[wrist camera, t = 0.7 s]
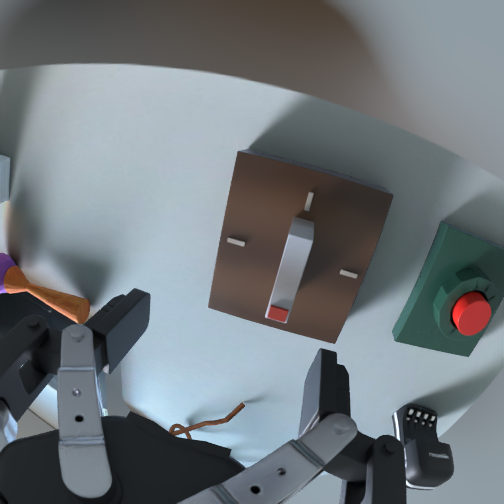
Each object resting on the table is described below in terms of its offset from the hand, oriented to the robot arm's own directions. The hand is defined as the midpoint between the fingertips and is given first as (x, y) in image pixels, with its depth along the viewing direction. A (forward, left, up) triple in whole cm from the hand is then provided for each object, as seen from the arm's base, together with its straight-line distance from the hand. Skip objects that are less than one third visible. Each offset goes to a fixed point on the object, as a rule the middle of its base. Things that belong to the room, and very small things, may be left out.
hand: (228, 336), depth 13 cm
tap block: (0, +2, -15) cm, 15 cm away
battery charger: (+17, +24, -15) cm, 33 cm away
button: (0, +19, -12) cm, 23 cm away
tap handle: (0, +2, -12) cm, 12 cm away
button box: (0, +19, -15) cm, 24 cm away
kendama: (+15, -30, -15) cm, 37 cm away
